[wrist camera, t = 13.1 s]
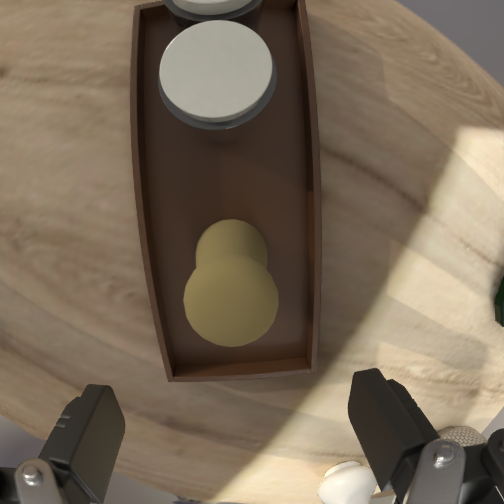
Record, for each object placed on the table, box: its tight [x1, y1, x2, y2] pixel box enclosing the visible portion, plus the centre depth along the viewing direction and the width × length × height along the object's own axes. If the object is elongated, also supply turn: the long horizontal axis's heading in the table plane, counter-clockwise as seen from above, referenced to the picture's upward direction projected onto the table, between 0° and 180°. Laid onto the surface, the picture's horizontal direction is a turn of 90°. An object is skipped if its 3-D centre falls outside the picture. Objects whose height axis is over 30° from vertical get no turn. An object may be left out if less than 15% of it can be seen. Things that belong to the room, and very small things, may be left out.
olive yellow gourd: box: [183, 219, 279, 347], centre depth 20 cm, size 6×6×11 cm
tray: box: [130, 0, 322, 382], centre depth 23 cm, size 14×34×2 cm, turn 3°
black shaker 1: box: [163, 0, 265, 35], centre depth 15 cm, size 6×6×11 cm
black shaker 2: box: [158, 20, 277, 146], centre depth 17 cm, size 6×6×11 cm
